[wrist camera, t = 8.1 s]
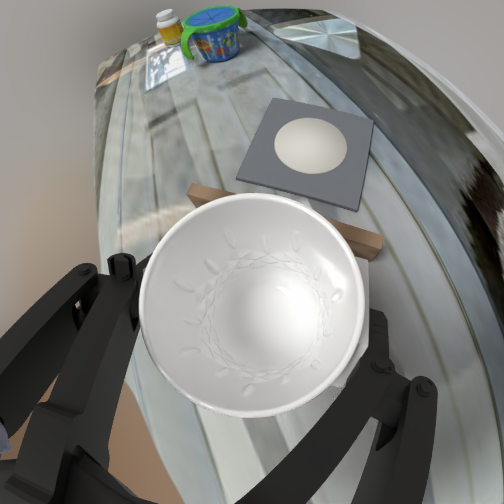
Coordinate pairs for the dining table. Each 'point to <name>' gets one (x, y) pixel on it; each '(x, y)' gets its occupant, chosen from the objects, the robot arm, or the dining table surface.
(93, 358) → the robot arm
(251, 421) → the dining table surface
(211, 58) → the snack cup
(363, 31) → the dining table surface
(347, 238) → the low wall
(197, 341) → the white cup
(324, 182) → the slate mat
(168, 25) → the supplement bottle
